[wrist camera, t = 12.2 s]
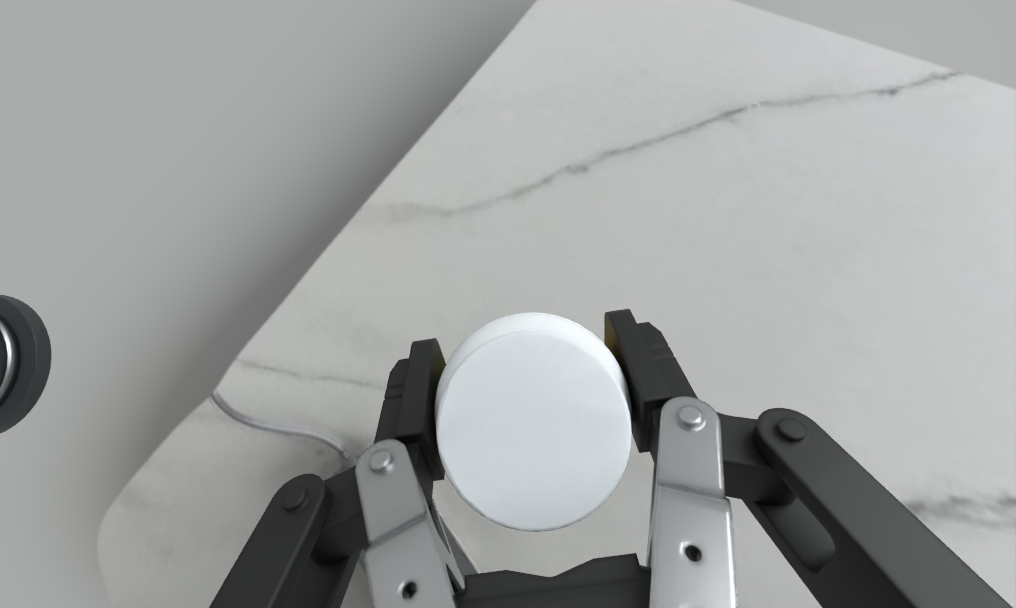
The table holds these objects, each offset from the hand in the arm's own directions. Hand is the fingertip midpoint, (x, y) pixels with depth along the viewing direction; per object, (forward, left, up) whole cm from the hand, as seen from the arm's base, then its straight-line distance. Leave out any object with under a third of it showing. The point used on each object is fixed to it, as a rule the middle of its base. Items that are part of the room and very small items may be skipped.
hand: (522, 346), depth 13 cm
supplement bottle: (0, -2, -5) cm, 5 cm away
